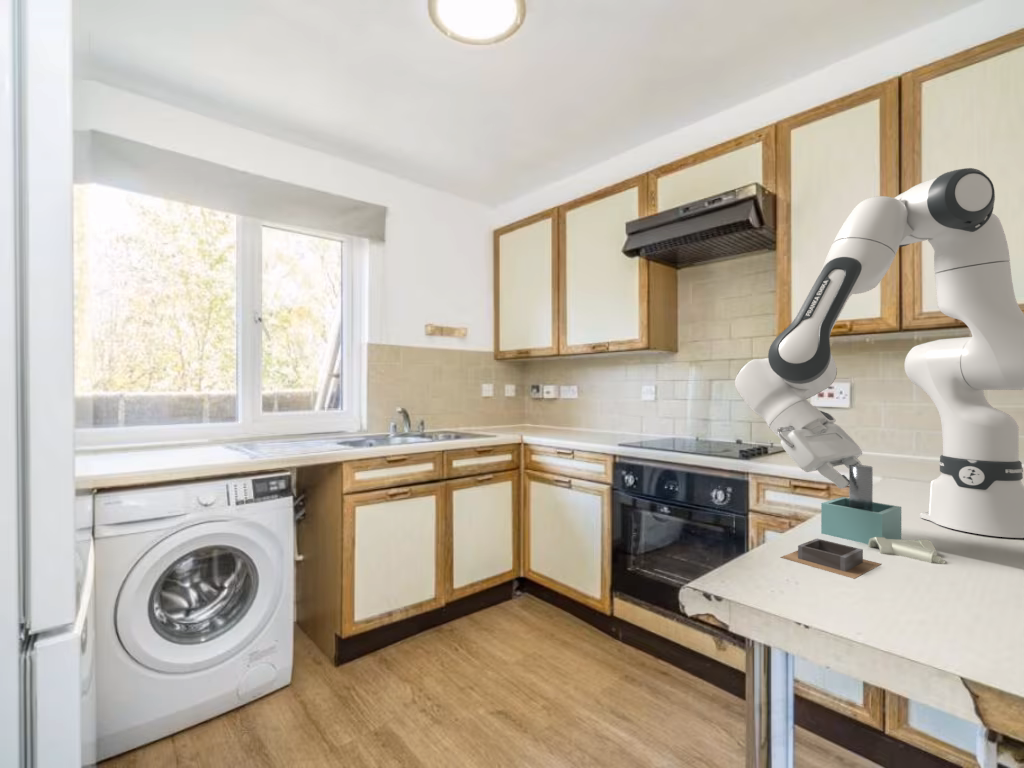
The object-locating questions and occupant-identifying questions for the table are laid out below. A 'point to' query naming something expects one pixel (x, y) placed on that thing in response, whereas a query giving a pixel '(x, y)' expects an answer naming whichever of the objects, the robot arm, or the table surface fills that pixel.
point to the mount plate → (832, 558)
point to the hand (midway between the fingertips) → (857, 483)
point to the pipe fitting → (907, 548)
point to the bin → (860, 521)
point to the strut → (861, 487)
